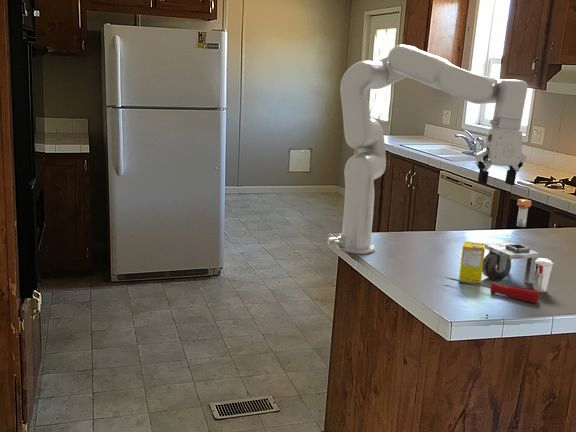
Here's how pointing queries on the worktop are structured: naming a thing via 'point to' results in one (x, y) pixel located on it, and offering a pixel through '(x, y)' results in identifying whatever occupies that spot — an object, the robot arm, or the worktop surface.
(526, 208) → the light bulb
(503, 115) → the robot arm
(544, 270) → the milkshake
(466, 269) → the supplement box
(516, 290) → the screwdriver
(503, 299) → the worktop surface
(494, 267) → the grey flat-topped wheeled fixture
